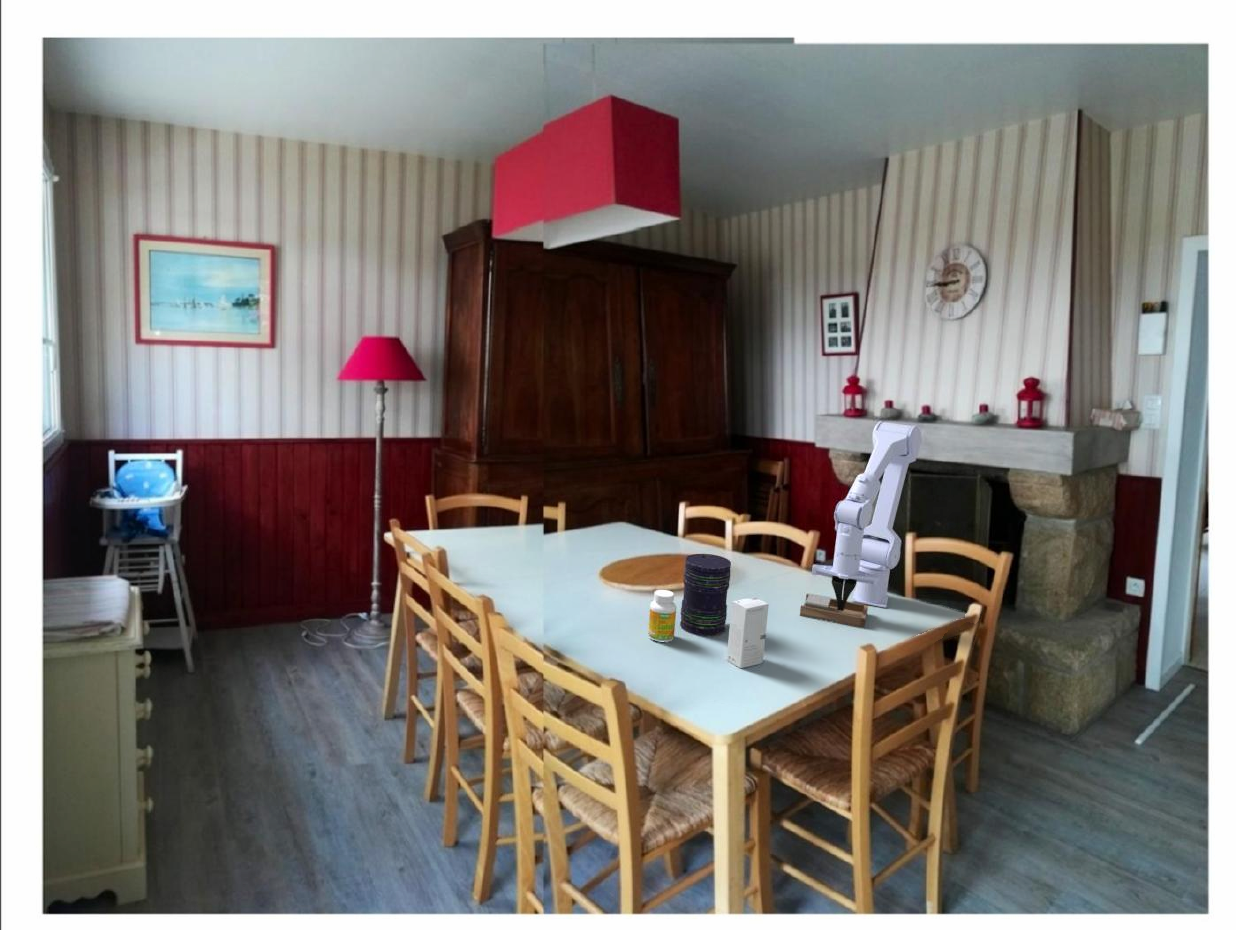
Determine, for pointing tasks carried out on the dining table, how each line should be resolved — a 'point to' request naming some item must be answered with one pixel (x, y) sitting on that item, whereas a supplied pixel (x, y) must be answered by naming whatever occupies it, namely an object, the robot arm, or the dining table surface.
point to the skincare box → (747, 632)
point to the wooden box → (839, 613)
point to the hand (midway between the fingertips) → (840, 609)
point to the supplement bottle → (662, 616)
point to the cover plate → (818, 602)
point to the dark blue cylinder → (705, 594)
